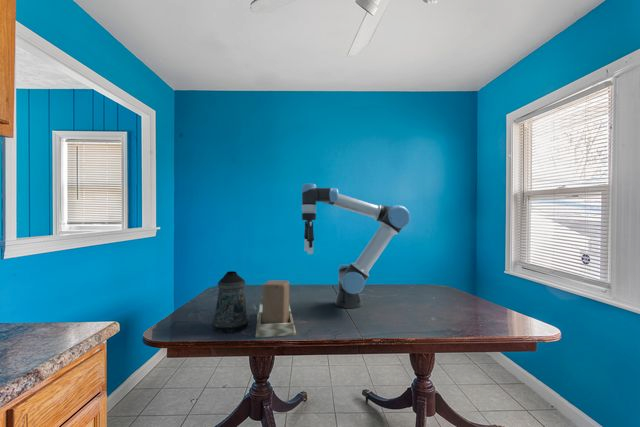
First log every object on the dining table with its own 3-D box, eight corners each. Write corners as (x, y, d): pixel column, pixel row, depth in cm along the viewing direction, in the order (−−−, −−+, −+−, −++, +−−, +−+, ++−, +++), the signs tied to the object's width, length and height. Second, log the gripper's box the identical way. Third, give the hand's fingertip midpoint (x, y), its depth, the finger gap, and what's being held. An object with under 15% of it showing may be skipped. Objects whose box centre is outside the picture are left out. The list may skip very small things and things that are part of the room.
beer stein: (229, 337, 131) (230, 277, 131) (199, 327, 141) (200, 272, 141) (257, 325, 145) (257, 271, 145) (228, 318, 155) (228, 267, 155)
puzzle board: (290, 312, 164) (290, 303, 165) (296, 335, 133) (296, 323, 133) (257, 314, 162) (257, 304, 162) (255, 337, 130) (255, 325, 130)
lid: (288, 303, 162) (288, 296, 162) (290, 312, 147) (291, 304, 147) (259, 305, 159) (259, 297, 159) (259, 314, 145) (259, 305, 145)
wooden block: (283, 331, 134) (284, 285, 134) (261, 330, 135) (261, 284, 136) (289, 323, 144) (289, 280, 144) (268, 322, 145) (269, 279, 145)
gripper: (299, 212, 178) (299, 249, 178) (304, 212, 154) (304, 255, 154) (312, 213, 180) (312, 249, 179) (319, 212, 155) (319, 255, 155)
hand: (308, 252), depth 167 cm, fingers open, 13 cm apart
